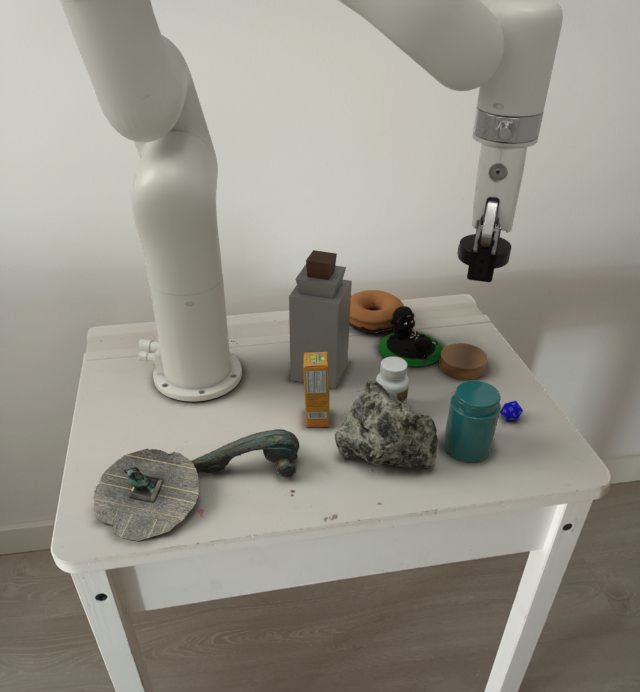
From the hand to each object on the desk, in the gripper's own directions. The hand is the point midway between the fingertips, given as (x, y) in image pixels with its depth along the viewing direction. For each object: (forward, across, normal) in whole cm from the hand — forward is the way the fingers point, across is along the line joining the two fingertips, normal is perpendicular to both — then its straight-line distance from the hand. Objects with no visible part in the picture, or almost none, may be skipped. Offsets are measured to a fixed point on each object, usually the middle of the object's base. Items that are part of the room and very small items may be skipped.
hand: (481, 266), depth 88 cm
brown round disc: (+16, 0, 0) cm, 16 cm away
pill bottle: (+16, -14, +9) cm, 23 cm away
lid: (-3, 0, 0) cm, 3 cm away
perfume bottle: (+16, -7, +20) cm, 27 cm away
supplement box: (+16, -18, +18) cm, 30 cm away
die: (+16, -10, -7) cm, 21 cm away
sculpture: (+18, -39, +34) cm, 55 cm away
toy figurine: (+16, +2, +8) cm, 18 cm away
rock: (+16, -23, +8) cm, 29 cm away
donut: (+12, +9, +16) cm, 22 cm away
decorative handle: (+16, -30, +24) cm, 42 cm away
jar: (+16, -18, -2) cm, 24 cm away
